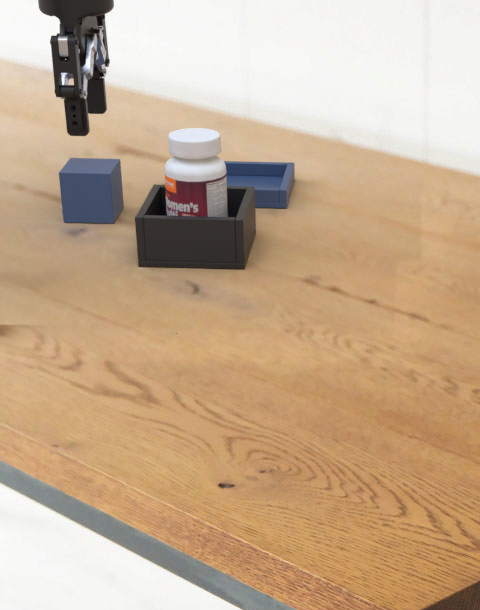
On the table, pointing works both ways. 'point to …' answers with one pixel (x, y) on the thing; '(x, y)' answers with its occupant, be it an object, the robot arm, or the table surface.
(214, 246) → the charcoal bin
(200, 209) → the pill bottle
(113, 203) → the blue block
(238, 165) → the blue tray
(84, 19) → the robot arm
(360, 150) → the table surface
